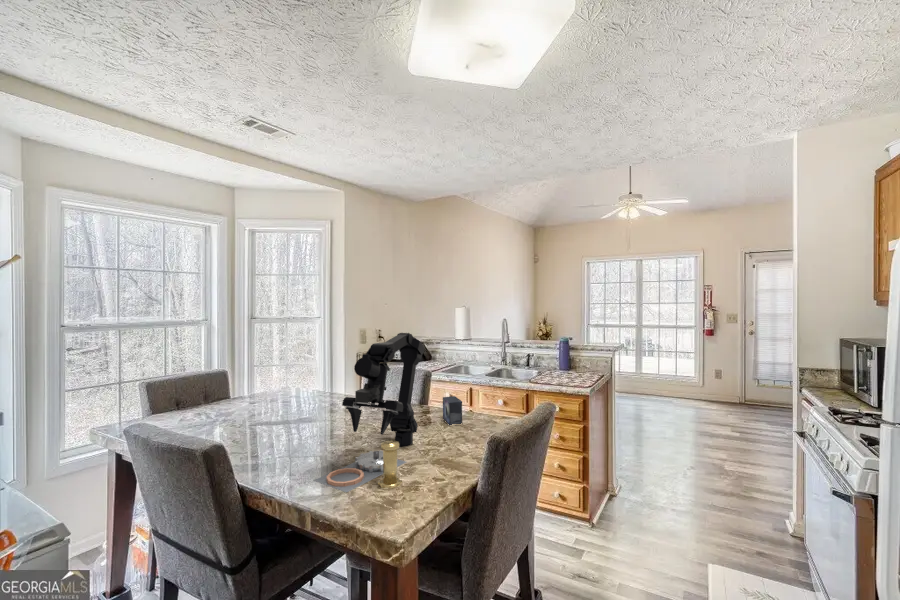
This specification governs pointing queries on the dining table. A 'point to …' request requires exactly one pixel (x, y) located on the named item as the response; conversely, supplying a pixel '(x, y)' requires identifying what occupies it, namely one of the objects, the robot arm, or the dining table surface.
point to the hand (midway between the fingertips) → (368, 433)
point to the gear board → (349, 477)
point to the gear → (370, 461)
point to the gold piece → (389, 465)
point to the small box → (452, 410)
